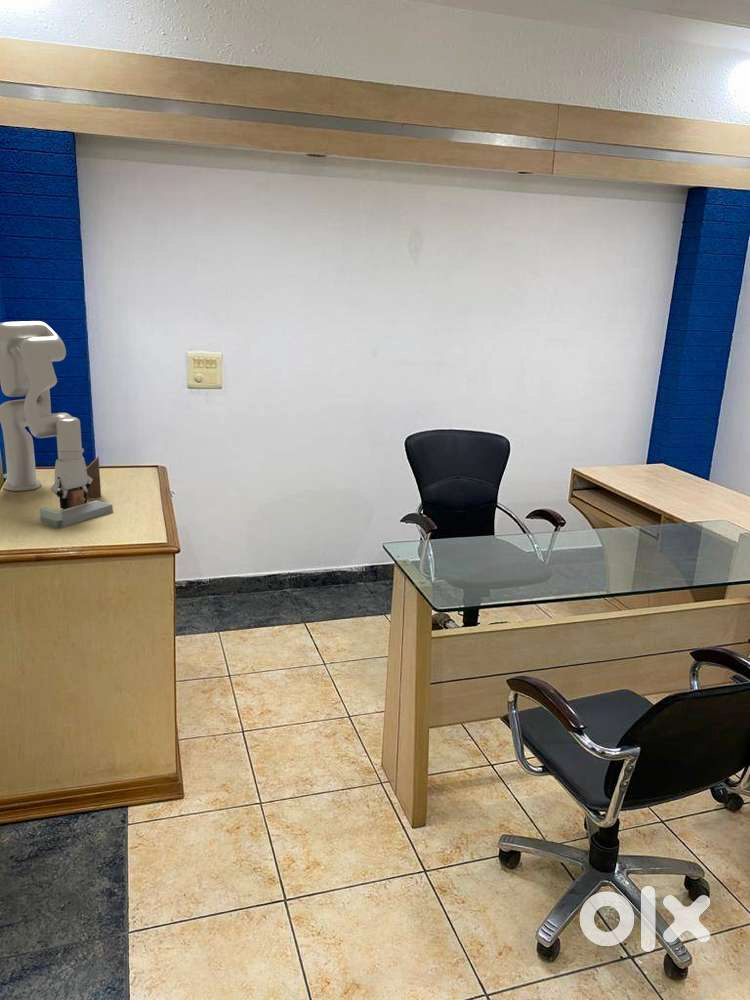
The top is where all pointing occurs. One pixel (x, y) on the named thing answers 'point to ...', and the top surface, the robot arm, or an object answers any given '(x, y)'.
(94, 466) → the brown forked upright piece
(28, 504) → the top surface
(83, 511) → the grey board
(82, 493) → the brown block
